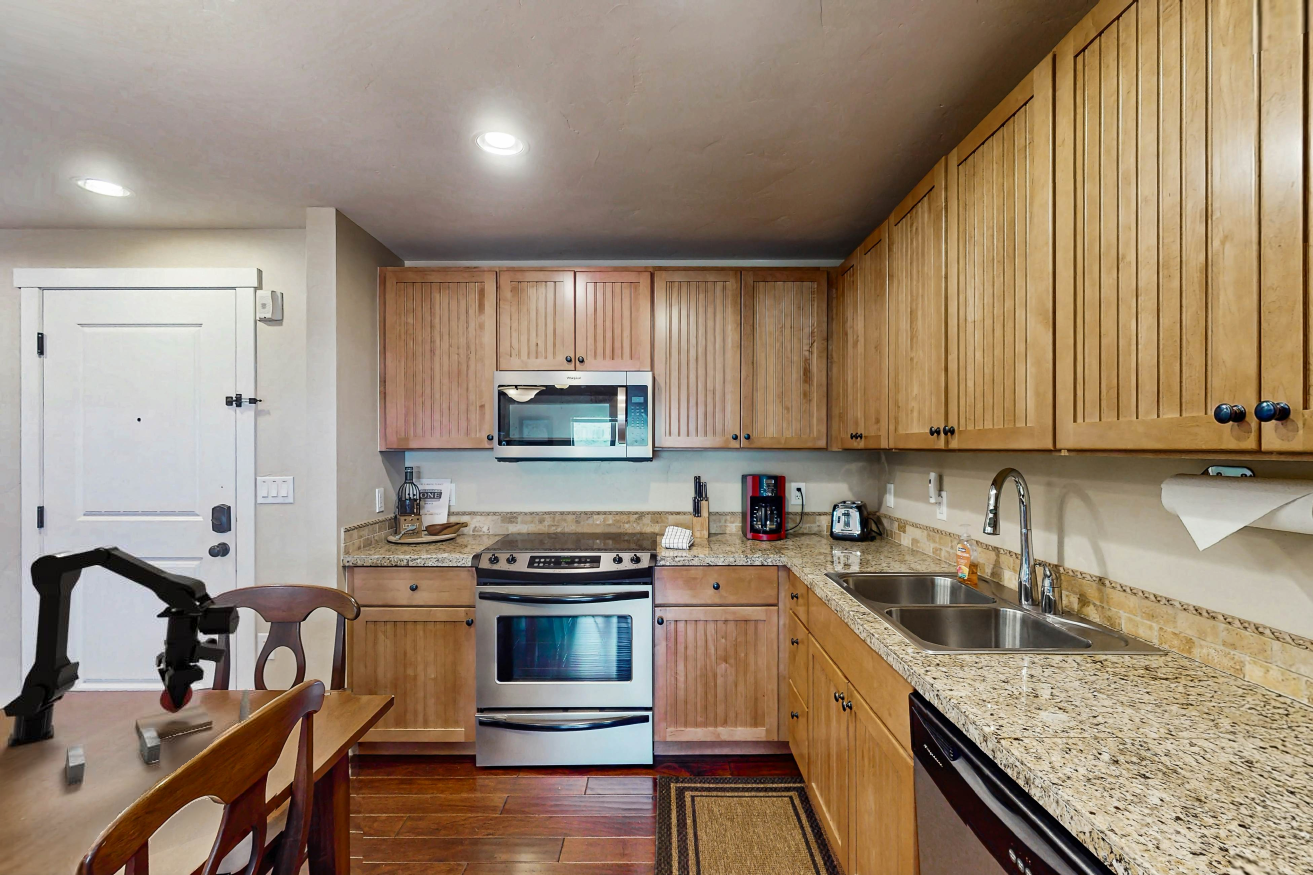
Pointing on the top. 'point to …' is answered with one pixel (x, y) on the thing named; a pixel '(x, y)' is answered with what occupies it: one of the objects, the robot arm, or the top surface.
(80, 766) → the twin grey rails
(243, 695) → the screw
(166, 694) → the onion
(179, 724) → the tan board
